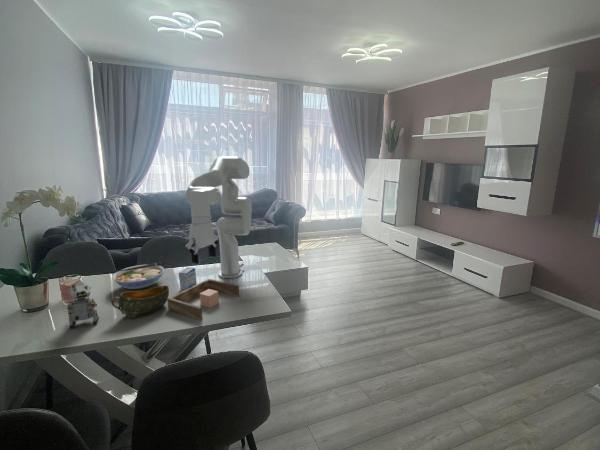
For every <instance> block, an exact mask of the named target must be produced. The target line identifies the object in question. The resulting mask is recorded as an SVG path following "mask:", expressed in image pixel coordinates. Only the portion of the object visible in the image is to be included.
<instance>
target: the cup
mask: <svg viewBox="0 0 600 450" xmlns="http://www.w3.org/2000/svg"><path fill="white" fill-rule="evenodd" d="M169 293H170V288H169V285H159V286H155V287H151V288H147V289H146V288H145V289H139V290H130V291H123V292H121V293H120V295H119V296H115V297H112V298H111V301H110V304H111V306H113V307H114V308H115V309H117V310H118V311H120V312H121V313H122V315H125V316H126V317H127V318H129V319H138V318H139V319H140V318H143V317H145V316H150V315H151V314H154V313H157V312H158V311H160V310H162V309H163V308H164V306H165V305H166V303H167V299H168V298H169V295H170V294H169ZM116 300H118V306H117V305H116V304H115V302H116Z"/></svg>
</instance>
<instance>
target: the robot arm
mask: <svg viewBox="0 0 600 450" xmlns="http://www.w3.org/2000/svg"><path fill="white" fill-rule="evenodd" d="M250 172H251V171H250V166H249V164H248V163H247V162H246V161H245V160H244V159H243V158H241V157H240V156H239V157H238V156H218V157H217V158H215V159H214V160H213V163H212V164H211V166H210V168H209V170H208V171H207V172H205V173H203V174H201V175H199V176H197V177H196V178H194V179H193V180H192V181H191V182H190V183H189V185H188V187H187V190H186V191H185V200H186V201H187V203H189V204H190V205H189V206H190V212H191V213H190V215H191V223H190V225H189V234H188V235H189V239H188V240H189V241H188V242H187V243H185V244H186V245H185V248H186V250H187V251H188V252H189V254H191V262H192V263H193V264H199V263H200V262H199V261H200V260H199V254H198V251H199V249H203V248H205V247H208V252H209V256H210V257H213V258H214V257H217V254H216V253H217V251H216V248H217V244H218V242H219V253H220V255H219V256H220V257H219V258H220V271H218V278H219V277H220V278H221V279H235V278H238V277H240V276H242V275H243V270H242V269H241V268H243V267H244V266H245V263H244V262H241V263H240V262H239V261H240V259H239V257H240V256H239V242H238V240H237V238H236V236H248V235H249V234H250V232H251V229H252V228H251V227H252V213H253V208H252V201H251V199H250V198H249V197H245V196H239V187H238V184H237V183H236V182H235V181H234V180H245V179H248V178H249V176H250ZM217 187H221V189H222V192H221V191H220V189H219V188H217ZM220 201H221V203H220V204H221V206H220V209H221V212H222V214H224V215H227V216H222V217H220V218H218V219H217V221H216V231H217V234H215V230H214V225H213V222H212V215H211V206H213V205H217V204H219V202H220ZM229 215H232V216H229Z"/></svg>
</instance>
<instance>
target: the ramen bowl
mask: <svg viewBox="0 0 600 450" xmlns="http://www.w3.org/2000/svg"><path fill="white" fill-rule="evenodd" d="M161 265H162V266H161ZM163 265H165V261H160V262H155V263H151V264H140V265H139V264H138V265H134V266H129V267H126V268H123V269H119V270H114V271H109V272H108V273H109V274H112V273H114V274H112V276H111V278H112V279H113V280H114V281H115V283H117V285H119V286H120V287H122V288H125V289H129V290H130V289H131V290H144V289H146V288H148V287H150V286H152V285H154V284H155V283H156V282H158V281H159V280H160V279H161V278H162V276H163V274H164V272H165V268H164V267H163Z"/></svg>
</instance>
